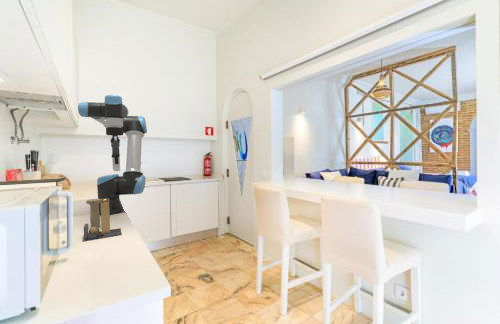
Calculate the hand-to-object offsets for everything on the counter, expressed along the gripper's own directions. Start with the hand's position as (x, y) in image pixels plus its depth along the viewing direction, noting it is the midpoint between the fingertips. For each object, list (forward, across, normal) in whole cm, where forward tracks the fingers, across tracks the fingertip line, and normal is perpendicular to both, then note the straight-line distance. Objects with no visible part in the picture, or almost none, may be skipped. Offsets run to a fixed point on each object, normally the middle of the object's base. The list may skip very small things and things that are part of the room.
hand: (116, 170), depth 122 cm
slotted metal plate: (+29, +14, -7) cm, 32 cm away
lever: (+27, +14, -5) cm, 31 cm away
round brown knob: (+27, +14, -10) cm, 32 cm away
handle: (+29, 0, -10) cm, 31 cm away
